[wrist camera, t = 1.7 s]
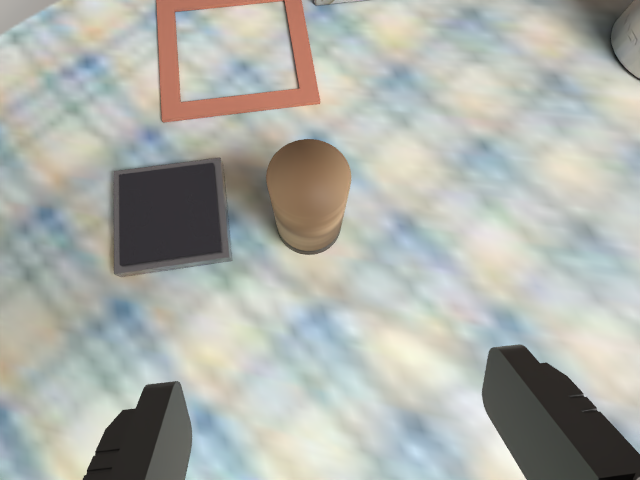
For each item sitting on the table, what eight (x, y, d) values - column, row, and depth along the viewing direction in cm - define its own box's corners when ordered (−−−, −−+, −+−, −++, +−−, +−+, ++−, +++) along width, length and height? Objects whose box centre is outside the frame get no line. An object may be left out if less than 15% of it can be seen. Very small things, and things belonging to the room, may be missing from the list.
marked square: (298, -14, 37) (298, -17, 37) (320, 103, 33) (320, 101, 33) (157, 0, 36) (156, -3, 36) (163, 122, 32) (161, 120, 32)
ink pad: (223, 164, 31) (219, 155, 30) (232, 260, 29) (228, 256, 28) (119, 177, 31) (112, 169, 29) (120, 276, 28) (112, 272, 27)
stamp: (335, 191, 31) (343, 134, 23) (345, 249, 29) (358, 209, 22) (273, 199, 30) (261, 144, 23) (281, 259, 29) (271, 221, 21)
